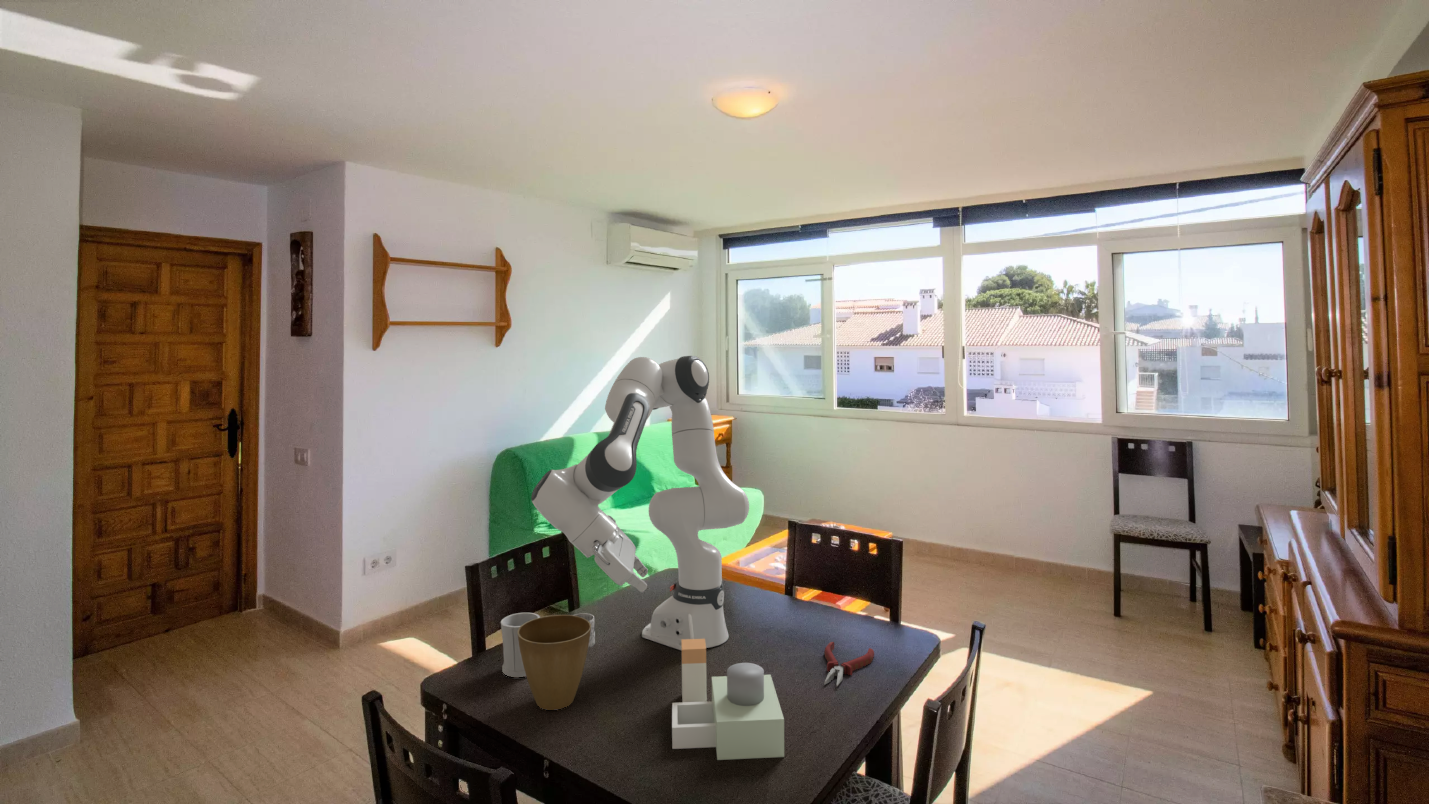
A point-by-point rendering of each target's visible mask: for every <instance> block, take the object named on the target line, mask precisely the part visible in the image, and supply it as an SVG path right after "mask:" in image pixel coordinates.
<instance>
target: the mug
mask: <svg viewBox="0 0 1429 804" xmlns="http://www.w3.org/2000/svg"><path fill="white" fill-rule="evenodd" d="M572 615H573V616H578V617H582V618H584V619H586V620H588V621H589V622H590V624H591V632H590V639H589V645H588V649H590V648H592V647H594V645H595V644H596V632H595V630H596V629H595V616H594V615H593V614H591V613H584V612H583V613H582V612H581V613H576V614H572ZM589 647H590V648H589Z"/></svg>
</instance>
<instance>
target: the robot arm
mask: <svg viewBox="0 0 1429 804" xmlns="http://www.w3.org/2000/svg"><path fill="white" fill-rule="evenodd" d="M709 383H710V373H709V370H708V368H707V365H706V364H705V363H704V361H703V360H702V359H700V358H699V357H698V356H696V355H685V356H681V357H679V358H673V359H671V360H667V361H663V362H661V363H660V364H658V363H657V362H656V361H655V360H653V359H652V358H650V357H645V356H638V357H634V358H632V359H631V360H630V361H629V362H627V364H626V365H625V367H624V368H623V369H622V370H621V371H620V372H619V374H618V376H617V377H616V379H615V380H614V383H613V385H612V386H611V387H610V390H609V392H608V394H607V398H606V402H605V405H604V410H605V413H606V415H607V417H608V418H609V420H610V421H612V423H613V424H612V426H611V429H610V431H609V433H608V435H607V437H606V438H604V439H602V440H601V441H599V442H598V443H597V444H596V445H594V447H592V449H591V450H590V452H589V453H588V454H587V455H586V456H585V457H584V458H582V460H581V461H580V462H579V463H578V464H574V465H572V466H569V467H566V468H561V469H550V470H548V471H546V472H545V474H544V475H543V476H542V477H541V479H540V480H539V481H538V483H537V484H536V485H535V487H534V488H533V490H532V493H531V495H530V496H531V498H530V499H531V503H532V504H533V505H534V507H535V509H536V510H537V511H538V512H539V513H540V515H541V516H542V517H543V518H544V519H545V520H546V521H547V522H548V523H549V524H551V526H553V528H555V529H556V530H558V531H560V532H561V533H563V534H564V535H565V536H566V538H567V540H568V541H569V542H570V544H572V546H574V547H575V548H576V549H577V550H578V551H579V552H581V553H582V554H583V556H585V557H586V558H587V559H588V558H590V557H592V556H594V562H595V564H596V565H597V566H598V567H599V568H600V569H601V570H602V571H603V573H605V575H607V576H608V577H609V579H610V580H612V581H613V583H615V584H616V585H618V586H623V585H624V584H625V583H627V584H628V585H630V586H631V587H634V588H635V589H637V591H638V592H640V593H644V592H645V590H647V589H648V582H646V581H645V580H644V579H643V578H644V577H646V576H647V575H648V572H649V569H648V568H647V567H646V566H645V565H644V564H643V562H642V561H641V559H640V558H639V557H638V556H637V555H636V551H637V550H636V549H637V548H636V546H635V544H634V543H633V541H632V540H631V538H630V537H628V535H626V533H625V532H624V531H623V530H622V529H621V528H620V527H619V526H618V524H617V522H616V520H615V518H613V517H612V516H611V515H608V514H606V513H605V512H604V511H603V510H602V509H601V508H600V507H599V505H600V504H602V503H603V502H605V501H606V500H607V499H608V498H610V497H611V496H613V494H614V493H616V492H617V491H619V490H620V489H622V488H623V487H625V486H627V485H628V484H629V483H630V482H632V481H633V479H634V478H635V476H636V472H637V449H638V445H639V442H640V439H641V436H642V433H643V431H644V428H645V426H646V423H647V420H648V419H649V417H650V415H651V414H652V412H653V411H655V410H658V409H661V408H666V407H669V409H670V411H671V437H672V438H671V440H672V454H673V462H674V465H675V466H676V467H677V468H678V469H679V470H680V471H681V472H683V473H685V474H688V475H690V476H692V477H693V478H694V479H695V480H696V482H697V483H698V486H689V487H688V486H685V487H684V486H683V487H671V488H668V489H663V490H661V491H657V492H656V493H654V495H652V497H651V499H650V501H649V504H648V517H649V520H650V522H651V524H652V525H653V527H654V528H656V530H658V531H659V532H661V533H662V534H663V535H665V536H666V537H667V539H668V540H669V541H670V542H671V544H672V546H673V548H674V550H675V553H676V559H677V568H678V569H677V570H678V571H677V572H678V581H676V582H674V583H673V585H671V586H670V587H669V589H670V590H669V592H672V591H673V593H672V595H671V596H670V597H668V598H667V599H666V600H664V601H663V602H661V604H659V605H658V606H657V607H656V608H655V609H654V610H653V613H652V615H651V618H650V619H651V621H650V622H649V623H648V624H647V625H645V627H644V628H643V629H642V631H641V632H642V633H641V637H642V638H643V639H647V640H650V641H653V642H655V643H658V644H661V645H664V646H667V647H669V648H673V649H676V650H679V651H682V642H681V639H705V643H706V649H707V648H708V649H709V648H713V647H717V646H720V645H723V644H724V643H726V642H727V641H728V640H729V636H730V635H729V632H728V628H727V624H726V619H725V612H724V603H725V602H724V601H725V600H724V599H725V590H724V582H723V576H722V574H723V573H722V571H723V570H722V569H723V567H722V566H723V565H722V555H721V551H720V550H719V549H718V548H717V547H716V546H715V545H713V544H711V543H709V542H707V541H705V540H702V539H701V538H699V531H705V530H706V531H707V530H717V529H727V528H731V527H735V526H738V525H742V524H743V523H744V522H745V520H746V519H747V518H748V515H749V511H750V502H749V501H750V500H749V498H748V496H747V494H746V492H745V491H744V489H742V488H741V486H738V485H737V484H735V483H734V482H733V481H732V480H731V479H729V477H728V476H727V475H726V473H725V472H724V471H723V469H722V466H721V463H720V462H719V458H718V453H717V448H716V440H715V439H716V438H715V430H714V422H713V418H712V413H711V409H710V406H709V403H708V399H707V397H706V396H707V394H708V393H707V392H708V388H709V385H710V384H709ZM634 570H635V571H636V572H634ZM636 573H637V574H638V575H637V574H636ZM639 576H640V577H639Z"/></svg>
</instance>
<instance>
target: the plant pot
mask: <svg viewBox="0 0 1429 804" xmlns="http://www.w3.org/2000/svg"><path fill="white" fill-rule="evenodd" d="M573 615H574V614H571V615H570V614H553V615H547V616H546V615H545V616H540V618H536V619H533V620H530V621H528V622H526V623H524V624H523V625H521V626H520V627H519V629H518V631H517V634H518V641H519V647H520V653H521V657H522V662H523V666H524V669H525V673H526V676H527V677H526V679H527V682H528V685H529V688H530V691H531V694H532V696H533V699H534V700H535V703H536V705H537V707H538V706H539V707H540V708H539V707H538V708H539V709H541V708H543V709H547V710H554V709H561V708H564V707H566V708H568V707H570V706H571V705H572V704H573V702H574V699H575V697H576V694H577V692H578V688H579V685H580V682H581V680H582V676H583V672H584V668H585V665H586V660H587V657H588V655H587V654H588V650H589V648H588V645H589V639H590V632H591V624H590V622H589V621H588V620H586V619H584V618H582V617H578V616H573ZM571 703H572V704H571ZM570 704H571V705H570ZM569 705H570V706H569ZM567 706H568V707H567ZM543 709H542V710H543ZM564 709H565V708H564ZM561 710H562V709H561Z"/></svg>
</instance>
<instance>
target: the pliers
mask: <svg viewBox="0 0 1429 804" xmlns="http://www.w3.org/2000/svg"><path fill="white" fill-rule="evenodd" d="M834 649H835V642H834V641H830V642H828V644H827V645H826V646H825V647H824V651H823V652H824V657H825V659H826V661H827V664H826V671H827V672H828V673H827V675H826V678H825V680H824V682H823V686H825V685H827V684H828V683H830V682H832V681H833V680H834V679H835V677H837V679H836V688H837V687H838V686H839V685H840V684H841V682H842V681H843V676H844V675H843V674H845V675H847V674H848V676H849V675H851V676H853V672H854V671H857V670H859V669H861V668H864V667H867V666H868V664H869V665H870V664H871V663H872V662H873V660H874V657H875V651H874V649H873V648H871V647H869V648H868V650H867V652H866V653H865V654H864V655H861V656H859V657H857V658H854V659H851V660H848V661H846V662H841V664H840V665H839V661H838V660H837V659H836V657H835V655H834V653H833V651H834ZM866 665H867V666H866ZM863 666H864V667H863ZM856 669H857V670H856ZM829 671H830V672H829ZM831 680H832V681H831Z"/></svg>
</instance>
